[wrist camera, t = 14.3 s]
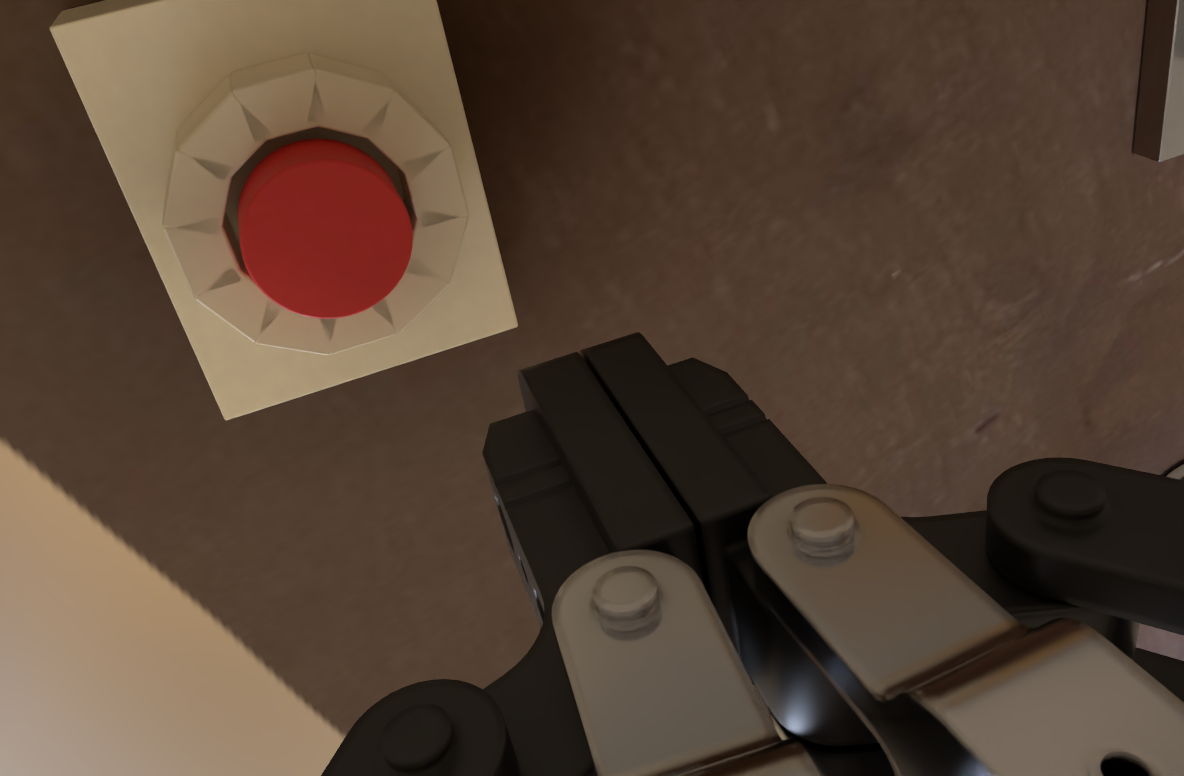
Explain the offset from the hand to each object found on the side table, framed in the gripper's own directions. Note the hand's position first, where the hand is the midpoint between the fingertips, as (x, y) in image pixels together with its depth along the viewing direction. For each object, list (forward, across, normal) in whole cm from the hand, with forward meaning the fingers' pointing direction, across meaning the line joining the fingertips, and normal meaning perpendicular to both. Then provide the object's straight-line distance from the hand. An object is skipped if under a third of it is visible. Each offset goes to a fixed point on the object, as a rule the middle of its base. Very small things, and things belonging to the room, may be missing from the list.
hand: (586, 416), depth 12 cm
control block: (+17, +2, +2) cm, 17 cm away
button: (+13, +2, +1) cm, 13 cm away
